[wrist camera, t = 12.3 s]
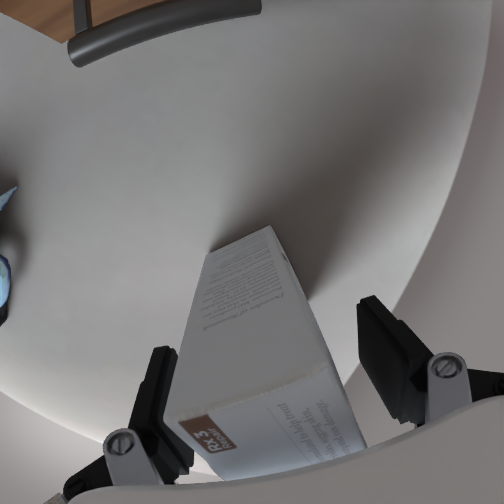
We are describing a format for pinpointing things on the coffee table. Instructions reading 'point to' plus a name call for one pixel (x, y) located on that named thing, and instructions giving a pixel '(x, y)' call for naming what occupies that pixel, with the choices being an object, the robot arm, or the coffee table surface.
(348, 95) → the coffee table surface
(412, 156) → the coffee table surface
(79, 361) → the coffee table surface
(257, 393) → the cosmetic box
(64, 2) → the drawer
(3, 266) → the figurine
